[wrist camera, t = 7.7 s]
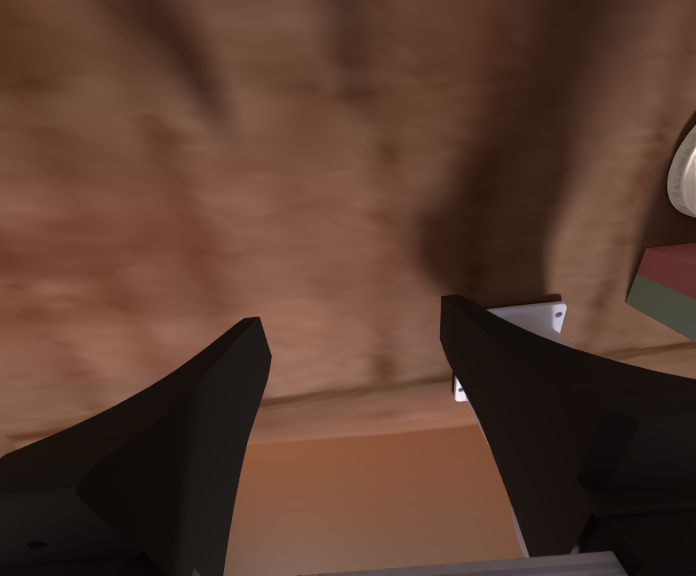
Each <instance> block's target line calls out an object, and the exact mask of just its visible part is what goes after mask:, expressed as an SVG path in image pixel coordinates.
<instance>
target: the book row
mask: <svg viewBox="0 0 696 576" xmlns="http://www.w3.org/2000/svg"><path fill="white" fill-rule="evenodd" d="M626 303H627V304H628V305H630V306H632V307H634V308H635V309H637V310H639V311H641V312H643V313H644V314H646V315H648V316H650V317H652V318H653V319H655V320H657V321H659V322H661V323H662V324H664V325H666V326H668V327H670V328H671V329H673V330H675V331H677V332H678V333H680V334H682V335H684V336H686V337H687V338H689V339H691V340H693V341H695V342H696V243H687V244H679V245H670V246H661V247H652V248H646V250H645V252H644V255H643V258H642V260H641V263H640V266H639V268H638V271H637V274H636V276H635V279H634V282H633V284H632V287H631V290H630V292H629V295H628V297H627V300H626Z"/></svg>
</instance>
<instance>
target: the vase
mask: <svg viewBox="0 0 696 576" xmlns="http://www.w3.org/2000/svg"><path fill="white" fill-rule="evenodd" d="M667 189H668V195H669V199H670V201H671V203H672V204H673V206H674V207H675V208H676V209H677V210H678V211H680V212H681V213H683V214H685V215H688V216H692V217H696V125H695V126H694V127H693V129H692V130H691V131H690V132H689V134H688V135H687V136H686V138H685V139H684V141H683V142H682V144H681V145H680V147H679V149H678V150H677V152H676V154H675V156H674V159H673V161H672V164H671V167H670V170H669V174H668V181H667Z"/></svg>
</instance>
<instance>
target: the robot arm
mask: <svg viewBox="0 0 696 576" xmlns="http://www.w3.org/2000/svg"><path fill="white" fill-rule="evenodd" d="M566 308H567V306H566V304H564V303H563V302H561V301H556V302H547V303H538V304H529V305H520V306H511V307H502V308H492V309H484V308H482V307H480V306H478V305H477V304H475V303H473V302H471V301H469V300H468V299H466V298H464V297H462V296H460V295H448V296H441V320H440V341H441V344H442V346H443V349H444V352H445V355H446V357H447V360H448V362H449V364H450V366H451V368H452V370H453V372H454V374H455V384H454V398H455V400H456V401H467V402H468V404H469V406H470V408H471V410H472V412H473V414H474V417H475V419H476V421H477V423H478V425H479V427H480V429H481V431H482V433H483V435H484V437H485V439H486V441H487V443H488V445H489V447H490V449H491V451H492V454H493V456H494V459H495V462H496V464H497V467H498V469H499V472H500V475H501V477H502V480H503V483H504V485H505V488H506V491H507V494H508V496H509V499H510V502H511V505H512V515H513V520H514V526H515V531H516V534H517V538H518V541H519V544H520V546H521V549H522V551H523V553H524V555H525V558H516V559H504V560H490V561H478V562H465V563H452V564H439V565H428V566H414V567H402V568H389V569H377V570H363V571H350V572H339V573H324V574H312V575H299V576H696V379H692V378H687V377H682V376H677V375H672V374H667V373H662V372H657V371H653V370H649V369H645V368H641V367H637V366H633V365H629V364H625V363H621V362H617V361H614V360H610V359H607V358H603V357H600V356H596V355H593V354H590V353H587V352H584V351H581V350H578V349H577V348H576V347H574V346H573V345H572V344H571V343H570V342H569V341H567V340H566V339H565V338H564V337H563V336H562V335H561V334H560V330H561V327H562V323H563V319H564V316H565V312H566ZM556 313H558V314H556ZM271 358H272V356H271V353H270V349H269V346H268V343H267V339H266V336H265V333H264V330H263V326H262V323H261V320H260V317H251V318H244V319H243V320H241V321H240V322H238V323H237V324H235V325H234V326H233V327H232V328H230V329H229V330H228V331H227V332H225V333H224V334H223V335H222V336H220V337H219V338H218V339H217V340H215V341H214V342H213V343H212V344H210V345H209V346H208V347H207V348H205V349H204V350H203V351H201V352H200V353H199V354H197V355H196V356H194V357H193V358H192V359H190V360H189V361H188V362H186V363H185V364H184V365H182V366H181V367H179V368H178V369H176V370H175V371H173V372H172V373H170V374H169V375H167V376H166V377H164V378H163V379H161V380H159V381H158V382H156V383H155V384H153V385H151V386H150V387H148V388H146V389H144V390H143V391H141V392H139V393H137V394H135V395H134V396H132V397H130V398H128V399H126V400H125V401H123V402H121V403H119V404H117V405H116V406H114V407H112V408H110V409H108V410H106V411H104V412H102V413H100V414H98V415H96V416H94V417H91V418H89V419H87V420H85V421H83V422H81V423H79V424H77V425H74V426H72V427H70V428H68V429H65V430H63V431H61V432H59V433H56V434H54V435H51V436H49V437H47V438H44V439H42V440H40V441H37V442H35V443H32V444H30V445H28V446H25V447H23V448H20V449H18V450H15V451H13V452H10V453H8V454H6V455H4V456H3V457H1V458H0V576H223V573H224V566H225V558H226V551H227V545H228V539H229V532H230V527H231V521H232V515H233V510H234V503H235V499H236V493H237V488H238V483H239V478H240V473H241V469H242V464H243V459H244V455H245V450H246V446H247V442H248V439H249V435H250V432H251V429H252V426H253V423H254V420H255V417H256V414H257V411H258V408H259V405H260V402H261V399H262V396H263V393H264V390H265V386H266V383H267V380H268V375H269V370H270V365H271ZM459 388H460V389H459Z"/></svg>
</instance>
